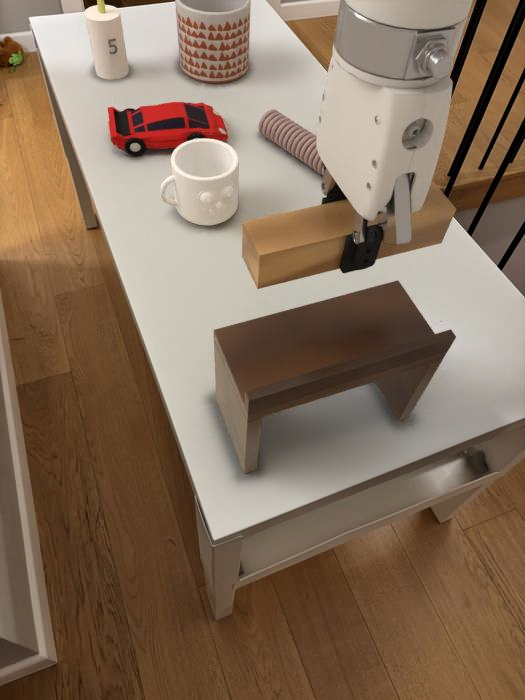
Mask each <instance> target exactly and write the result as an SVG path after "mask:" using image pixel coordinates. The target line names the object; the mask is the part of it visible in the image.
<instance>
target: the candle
mask: <svg viewBox="0 0 525 700" xmlns="http://www.w3.org/2000/svg"><path fill="white" fill-rule="evenodd" d="M83 15H84V20H85V21H84V22H85V25H86V30H87V36H88V40H89V45H90V51H91V56H92V60H93V65H94V70H95V74H96V75H97V76H98V77H99V78H101V79H103V80H110V81H111V80H112V81H114V80H120V79H123V78H125V77H126V76H127V75H128V74H129V72H130V69H129V62H128V61H129V60H128V56H127V50H126V49H127V48H126V43H125V42H126V41H125V37H124V36H125V35H124V28H123V22H122V17H121V11H120V9H119V8H118V7H115V6H114V5H109V4H105V0H96V4H95V5H91V6H89V7H88V8H85V10H84V12H83Z"/></svg>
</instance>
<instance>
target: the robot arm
mask: <svg viewBox="0 0 525 700" xmlns="http://www.w3.org/2000/svg"><path fill="white" fill-rule="evenodd" d="M473 1H474V0H339V5H338V11H337V17H336V25H335V32H334V36H333V37H334V38H333V43H332V53H331V58H330V61H329V66H328V70H327V74H326V78H325V82H324V88H323V93H322V97H321V101H320V106H319V107H320V108H319V114H318V121H317V127H316V136H317V138H316V147H317V151H318V154H319V156H320V158H321V160H322V165H323V168H324V173H325V174H324V176H322V181H321V184H320V189H321V193H322V195H323V196H324V197H322V199H321V203H320V205H323V204H327V203H332V202H337V201H341V200H346V199H348V200H349V202H350V203H351V204H352V206H353V207H354V209H355V216H354V224H353V233H352V234H350V235H348V236H347V237H346V242H345V246H344V250H343V254H342V258H341V262H340V267H339V268H340V269H339V270H340V272H341V273H342V274H347V273H352V272H355V271H362V270H366V269H369V268H371V267H373V266H374V265H375V263H376V261H377V259H376V258H377V255H378V252H379V249H380V245H381V242H383V243H385V244H389V245H392V246H397V245H401V244H405V243H409V242H410V241H411V238H412V234H411V213H412V212H417V211H419V210H420V209H421V207H422V205H423V203H424V201H425V198H426V196H427V193H428V190H429V187H430V184H431V181H433V178H434V174H435V171H436V168H437V166H438V165H437V164H438V161H439V158H440V154H441V150H442V146H443V142H444V139H445V134H446V130H447V125H448V120H449V114H450V108H451V103H452V94H453V93H452V92H453V85H454V82H453V79H452V78H451V77H450V73H451V72H452V71H453V69H454V66H455V56H456V53H457V50H458V47H459V44H460V41H461V38H462V35H463V32H464V29H465V26H466V23H467V20H468V17H469V13H470V10H471V7H472V4H473ZM377 214H379V217H378V224H375V225H370V226H367V224H368V220H369V221H374V220H375V219H376V217H377Z"/></svg>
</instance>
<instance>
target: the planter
mask: <svg viewBox="0 0 525 700" xmlns="http://www.w3.org/2000/svg"><path fill="white" fill-rule="evenodd" d="M174 1H175V4H174V5H175V16H176V28H177V29H176V30H177V43H178V44H177V45H178V56H179V66H180V69H181V71H182V72H183V73H184V74H185V75H186V76H187V77H189V78H191V79H193V80H195V81H198V82H201V83H206V84H226V83H231V82H234V81H237V80H239V79H241V78H242V77H243V76H244V75H245V74H246V73H247V72H248V69H249V66H250V65H249V63H250V36H251V35H250V32H251V1H252V0H174Z"/></svg>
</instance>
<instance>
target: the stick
mask: <svg viewBox="0 0 525 700" xmlns="http://www.w3.org/2000/svg"><path fill="white" fill-rule="evenodd" d="M456 211H457V208H456V207H455V206H454V204H453V203H452V202H451V201H450V200H449V198H448V197H447V196H446V195H445V194H444V192H443V191H442V190H441V189H440V188H439V186H438V185H437V184H436V183H435V182H434V180H432V181H431V184H430V187H429V190H428V193H427V196H426V198H425V201H424V203H423V205H422V207H421V209H420V210H419V211H417V212H412V213H411V234H412V238H411V241H410V242H409V243H405V244H401V245H397V246H392V245H389V244H385V243H383V242H381V245H380V249H379V252H378V255H377V258H376V260H380V259H384V258H388V257H392V256H396V255H399V254H400V255H401V254H404V253H408V252H412V251H416V250H421V249H424V248H427V247H432V246H435V245H440V244H442V243H443V241H444V238H445V237H446V234H447V232H448V230H449V227H450V225H451V223H452V221H453V218H454V216H455V214H456ZM354 216H355V209H354V207H353V206H352V204H351V203H350V202H349V200H348V199H346V200H341V201H337V202H332V203H327V204H323V205H321V204H319V205H314V206H310V207H305V208H300V209H295V210H291V211H287V212H282V213H277V214H273V215H267V216H262V217H258V218H255V219H249V220H244V221H243V222H242V235H241V236H242V239H241V241H242V242H241V258H242V260H243V262H244V265H245V267H246V268H247V270H248V272H249V274H250V276H251V278H252V281H253V282H254V285H255V287H256V289H257V290H260V289H264V288H268V287H271V286H276V285H280V284H284V283H288V282H292V281H296V280H300V279H304V278H308V277H312V276H315V275H320V274H324V273H328V272H332V271H336V270H340V268H339V267H340V262H341V258H342V254H343V250H344V246H345V242H346V237H347V236H348V235H350V234H352V233H353V224H354ZM378 217H379V214H377V217H376V219H375V220H374V221H369V220H368V224H367V226H370V225H375V224H378Z"/></svg>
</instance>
